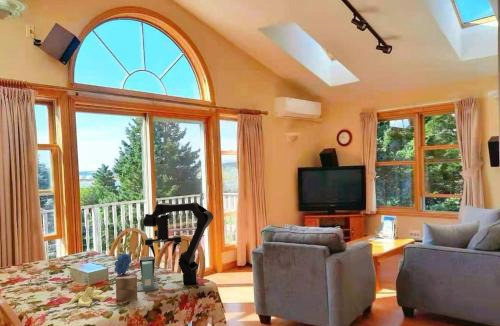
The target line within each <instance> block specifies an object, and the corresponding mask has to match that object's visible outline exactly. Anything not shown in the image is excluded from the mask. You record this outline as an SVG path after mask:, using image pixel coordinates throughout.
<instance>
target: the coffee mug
mask: <svg viewBox="0 0 500 326" xmlns="http://www.w3.org/2000/svg"><path fill="white" fill-rule="evenodd" d="M138 260H139V266H140V274H141V275H142V262H146V261H152V266H153V277H154V276H155V267H156V266H155V265H156V257H155V258H154V255H153V256H152V255H151V256H149V255H148V256H142V257H139V259H138Z"/></svg>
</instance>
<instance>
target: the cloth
mask: <svg viewBox="0 0 500 326" xmlns="http://www.w3.org/2000/svg"><path fill="white" fill-rule="evenodd" d="M103 292H104V291H103V290H101V289H95V290H93V287H90V286H89V287H87V288H86V289H85V290H84V292H83V293H78V294H76V295H75V294H74V296H73V297H72V298H70V299H71V300H70V301H69V302H68V303H67V304H66V305H67V306H68V305H69V306H70V305H73V304H75V302H77V301H78V303H77V307H90V305H91V304H92V303H93V300H95V301H96V300H97V301H99V302H101V303H103V302H105V301H106V300H108V299H109V298H110V297H111V296H110V295H109V294H102V293H103Z"/></svg>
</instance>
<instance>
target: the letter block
mask: <svg viewBox="0 0 500 326" xmlns="http://www.w3.org/2000/svg"><path fill="white" fill-rule="evenodd" d="M141 278H142V284H143V288H152V287H153V283H154V276H153V266H152V261H146V262H142V274H141Z"/></svg>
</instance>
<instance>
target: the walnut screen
mask: <svg viewBox="0 0 500 326" xmlns="http://www.w3.org/2000/svg"><path fill="white" fill-rule="evenodd" d="M137 290H138V276H135V275H133V276H118V277H117V276H116V278H115V296H116V297H115V301H116V302H117V300H118V301H132V300H133V301H134V300H137V298H138V292H137Z"/></svg>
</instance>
